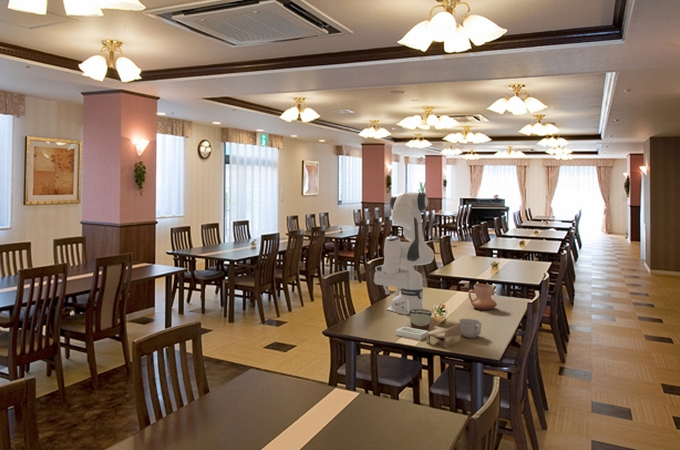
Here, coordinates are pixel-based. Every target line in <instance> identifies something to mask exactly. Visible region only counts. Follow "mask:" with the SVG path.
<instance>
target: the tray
mask: <svg viewBox="0 0 680 450" xmlns="http://www.w3.org/2000/svg"><path fill="white" fill-rule="evenodd" d="M428 332H430V330H429V331H425V330H420V329H415V328H411V327H409V326H408V327H407V326H402V327H400V328H397V329H395V335H396V336H399V337H404V338H408V339H413V340H419V341H421V340H423V339H424V340H425V339H427V333H428Z"/></svg>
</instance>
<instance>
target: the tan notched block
mask: <svg viewBox="0 0 680 450" xmlns="http://www.w3.org/2000/svg"><path fill="white" fill-rule="evenodd" d="M431 337H435V338H439V340H438V346H441V347H444V348H449V347H451V346H452V345H454V344H456V343H458V342H460V341H461V333H460V323H456V324H455V325H453V326H449V327H448V328H447V327H442V326H436V325H435V326H433V330H429V332H428V333H427V337H426V344H431ZM443 339H444V340H443Z"/></svg>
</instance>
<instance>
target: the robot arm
mask: <svg viewBox="0 0 680 450" xmlns="http://www.w3.org/2000/svg"><path fill="white" fill-rule="evenodd" d="M428 204H429V200H428V197H427V194H426V193H425V192H402V193H394V194H393V195H391V197H390V198H389V206H390V208H391V210H392V212H391V214H392V215H391V216H392V217H391V218H392V220H393V222H394V223H395V224H396V225H397V226H400V227H401V228H403V232H402V233H403V237H404V238H405V240H407V241H401V237H399V236H396V235H390V236H386V238H384V245H383V246H384V247H383V256H384V260H383V264H381V265H377V266H375V268H374V269H375V272H374V275H373V276H374V277H373V282H374V284H375V285H378V286H383V289H384V291H385V292H384V293H385V295H390V293H391V292H390V290H389V288H388V287H393V288H396V291H395V292H394V296H395V297H394V298H392V300H391V303H390V306H388V307H387V309H386V310H387V311H389V312H393V313H398V314H401V315H410V314H409V311H410V310H412V309H425V308H424V302H423V301H424V299H423V298H424V297H423V296H424V289H423V275H422V274H421V273H420V272H419V271H417V270H416V269H415V268H414V267H415V266H425V265H428V264H431V263H432V262H433V261H434V258H435V252H434V250H433V249H432V248H431V247H430V246H429V245H428V244H427V243H426V241H425V238H424V235H423V219H422V213H423V211H425V210H426V209H427V207H428Z"/></svg>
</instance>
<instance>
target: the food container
mask: <svg viewBox="0 0 680 450" xmlns="http://www.w3.org/2000/svg"><path fill="white" fill-rule="evenodd" d="M408 315H409V318H410V328H415V329H420V330H425V331H429V332H430V328H431V327H430V326H431V319H432V316H433V313H432V311H431V309H425V308H424V309H412V310H410V311H409V314H408Z"/></svg>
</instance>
